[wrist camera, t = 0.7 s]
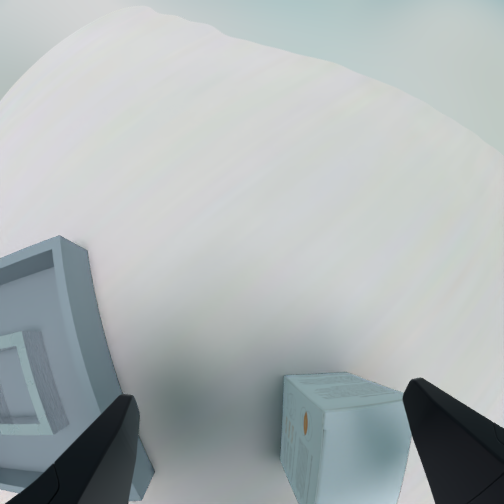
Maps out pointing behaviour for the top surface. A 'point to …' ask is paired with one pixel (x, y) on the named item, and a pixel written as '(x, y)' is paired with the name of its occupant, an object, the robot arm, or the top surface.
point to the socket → (33, 388)
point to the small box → (343, 439)
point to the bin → (56, 357)
